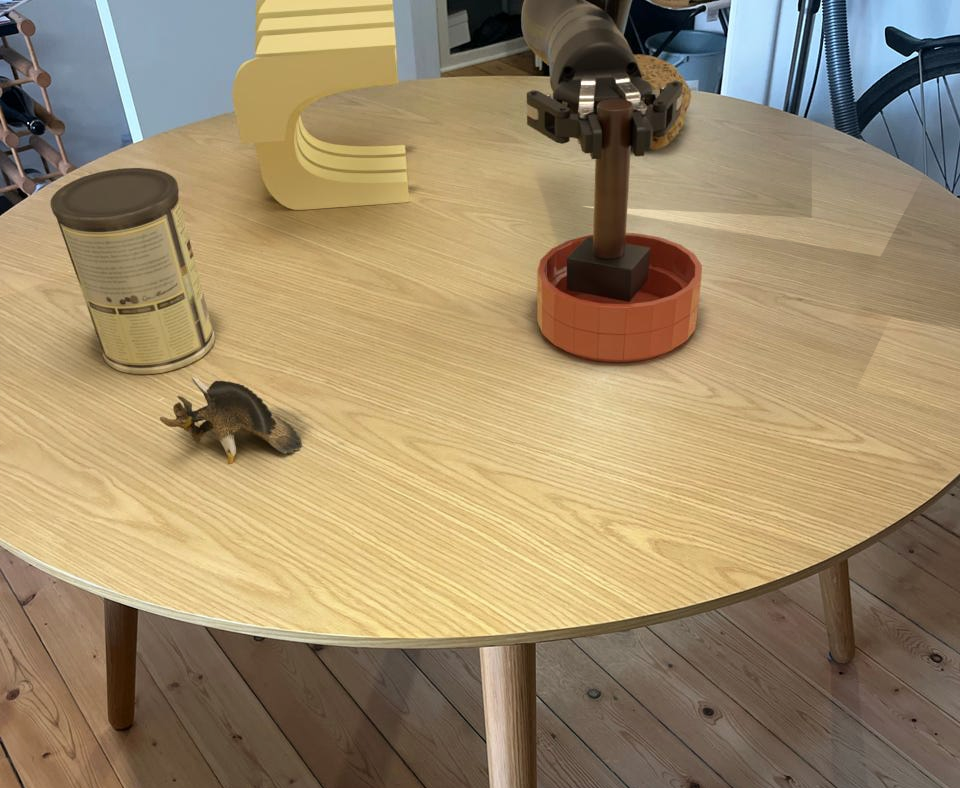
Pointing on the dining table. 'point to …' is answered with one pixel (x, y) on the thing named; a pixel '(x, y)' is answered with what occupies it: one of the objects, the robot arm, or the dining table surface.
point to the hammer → (610, 217)
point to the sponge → (659, 76)
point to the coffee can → (135, 268)
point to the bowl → (621, 305)
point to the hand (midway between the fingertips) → (619, 144)
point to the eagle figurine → (233, 417)
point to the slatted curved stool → (306, 78)
